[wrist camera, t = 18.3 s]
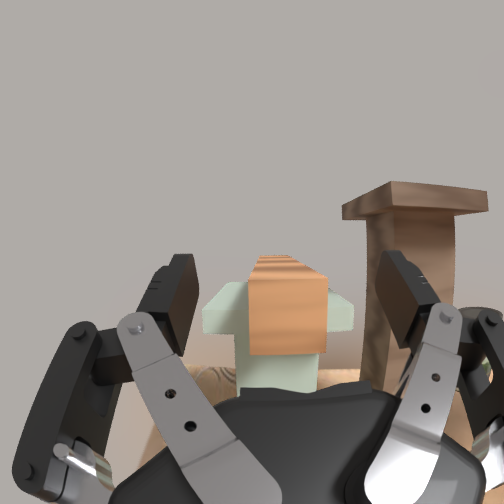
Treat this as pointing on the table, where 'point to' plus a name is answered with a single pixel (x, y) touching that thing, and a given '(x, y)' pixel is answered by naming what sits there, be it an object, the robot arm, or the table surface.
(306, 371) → the low stand
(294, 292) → the block
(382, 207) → the tall stand
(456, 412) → the table surface
